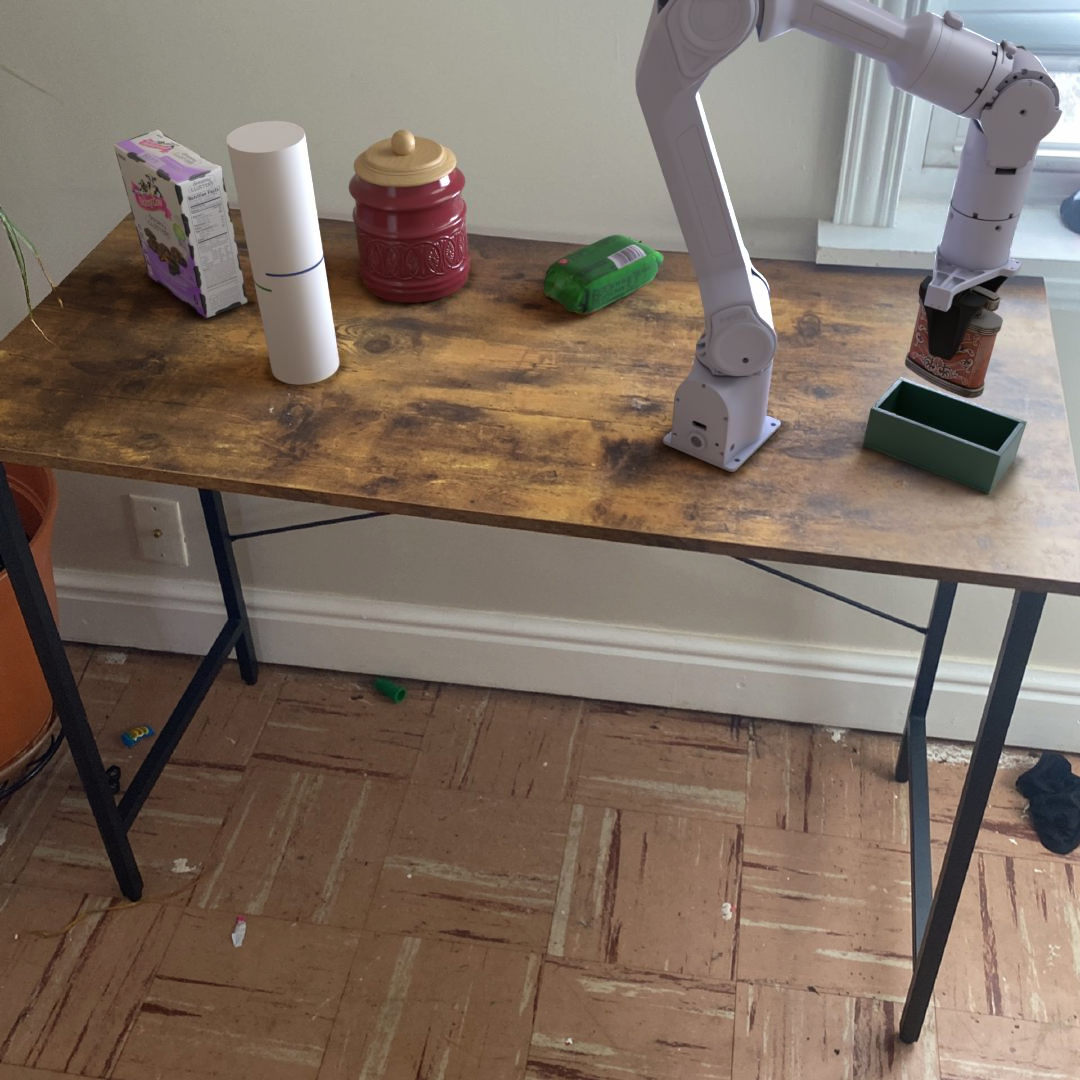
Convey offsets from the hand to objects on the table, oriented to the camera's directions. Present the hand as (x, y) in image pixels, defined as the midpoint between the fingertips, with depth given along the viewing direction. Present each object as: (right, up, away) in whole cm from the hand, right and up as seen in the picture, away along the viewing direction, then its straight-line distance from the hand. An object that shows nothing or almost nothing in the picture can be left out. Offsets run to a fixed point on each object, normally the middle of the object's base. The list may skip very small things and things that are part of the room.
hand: (950, 345), depth 107 cm
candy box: (-77, +11, +31) cm, 84 cm away
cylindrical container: (-62, +1, +18) cm, 65 cm away
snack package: (-30, +11, +29) cm, 43 cm away
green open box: (+1, -9, +5) cm, 11 cm away
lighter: (0, -3, +3) cm, 4 cm away
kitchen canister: (-52, +13, +32) cm, 62 cm away
